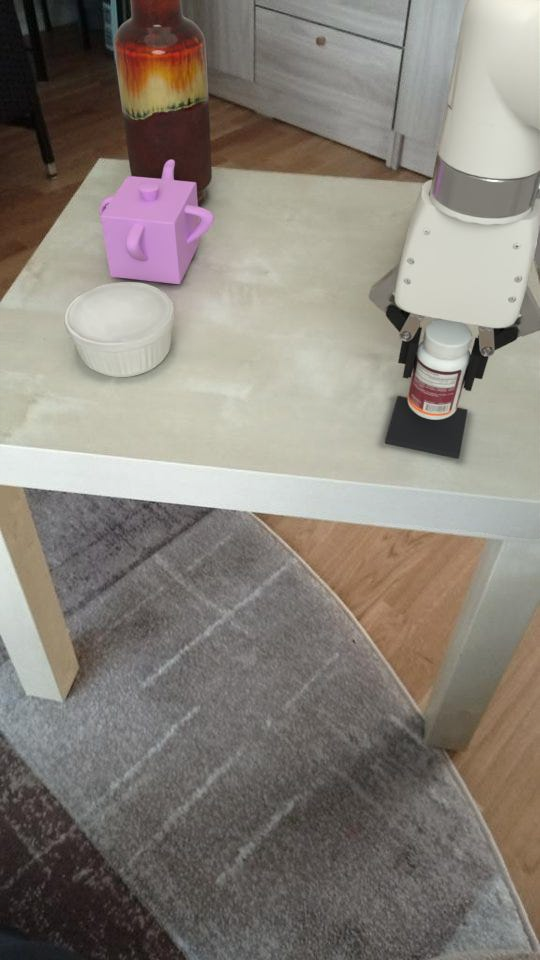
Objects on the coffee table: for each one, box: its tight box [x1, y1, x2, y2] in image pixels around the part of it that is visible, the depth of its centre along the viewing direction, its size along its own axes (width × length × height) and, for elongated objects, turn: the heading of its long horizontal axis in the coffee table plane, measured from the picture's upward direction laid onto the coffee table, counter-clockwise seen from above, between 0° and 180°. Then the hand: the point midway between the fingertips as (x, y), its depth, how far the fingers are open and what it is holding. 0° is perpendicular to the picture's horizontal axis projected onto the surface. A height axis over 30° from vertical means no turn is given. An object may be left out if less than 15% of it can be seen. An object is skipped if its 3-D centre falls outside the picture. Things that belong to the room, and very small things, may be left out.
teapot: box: [98, 160, 215, 285], centre depth 88 cm, size 18×14×10 cm
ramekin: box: [63, 281, 176, 378], centre depth 78 cm, size 11×11×5 cm
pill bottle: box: [407, 318, 473, 420], centre depth 67 cm, size 5×5×8 cm
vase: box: [113, 0, 213, 207], centre depth 93 cm, size 11×11×26 cm
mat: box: [384, 395, 468, 459], centre depth 72 cm, size 7×7×1 cm
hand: (438, 373), depth 67 cm, fingers closed on pill bottle, 4 cm apart
